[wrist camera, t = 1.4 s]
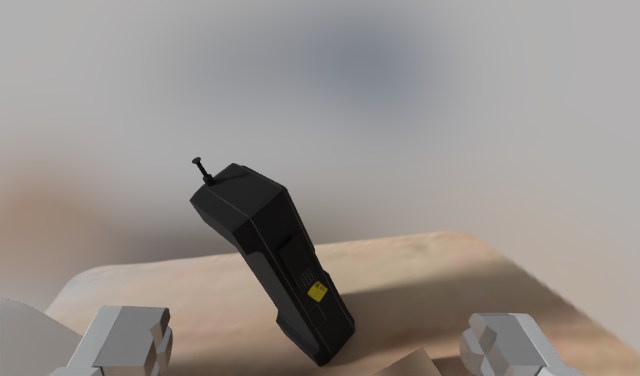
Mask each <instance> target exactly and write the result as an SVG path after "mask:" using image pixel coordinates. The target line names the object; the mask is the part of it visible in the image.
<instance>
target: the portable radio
mask: <svg viewBox="0 0 640 376" xmlns="http://www.w3.org/2000/svg"><path fill="white" fill-rule="evenodd" d="M200 160H201V158H200V157H197V158H195V159H193V161H192V163H194V164H197V166H198V168H199V169H200V171H201V172H202V174H203V175H204V177H203V180H204V182H205V184H204V185H203V186H202V187H201V188H200V189H199V190H198V191H197V192H196V193H195V194H194V195H193V197H192V198H191V199H190V202H191V203H192V205H193V206H194V208H195V209H196V211H197V212H198V213H199V215H200V216H201V218H202V219H203V220H204V221H205V222H206V223H207V224H208V225H209V226H211V227H212V228H213V229H214V230H216V231H217V232H218V233H219V234H220V235H222V236H223V237H224V238H226V239H227V240H228V241H229V242H230V243H232V244H233V245H235V247H236V248H237V249H238V251H239V252H240V254H241V255H242V257H243V258H244V260H245V261H246V263H247V264H248V266H249V267H250V268H251V270H252V271H253V273H254V274H255V276H256V277H257V279H258V280H259V282H260V283H261V285H262V286H263V288H264V289H265V291H266V292H267V294H268V295H269V297H270V298H271V300H272V301H273V303H274V304H275V306H276V307H277V309H278V316H277V319H276V322H277V324H278V325H279V327H280V328H281V329H282V331H283V332H284V333H285V334H286V336H287V337H289V338H290V339H291V340H292V341H293V342H294V343H295V344H296V345H297V346H298V347H299V348H300V349H301V350H302V351H303V352H304V353H305V354H307V355H308V356H309V357H310V358H311V359H312V360H313V361H314V362H315V363H316V364H317V365H318V366H319V367H321V366H322V365H324V364H326V363H328V362H329V361H330V360H331V359H332V358H333V357H334V356H335V355H336V353H337V352H338V351H339V350H340V348H341V347H342V346H343V345H344V343H345V342H346V341H347V340H348V339H349V337H350V336H351V335H352V334H353V332H354V331H355V328H354V323H355V322H354V319H353V318H352V316H351V314H350V313H349V311H348V310H347V308H346V306H345V304H344V302H343V301H342V299H341V297H340V295H339V293H338V291H337V289H336V287H335V285H334V283H333V281H332V279H331V277H330V275H329V273H327V272H326V271H324V270H323V269H322V266H321V264H320V262H319V260H318V258H317V256H316V254H315V248H314V246H313V244H312V242H311V240H310V238H309V235H308V233H307V231H306V229H305V227H304V225H303V223H302V221H301V218H300V216H299V214H298V212H297V210H296V208H295V206H294V203H293V201H292V199H291V197H290V195H289V193H288V190H287V189H286V188H285V187H284V186H283V185H281V184H279V183H277V182H275V181H273V180H271V179H269V178H267V177H265V176H263V175H261V174H259V173H257V172H256V171H254V170H252V169H250V168H248V167H246V166H240V165H238V164H235V163H232V164H231V165H229V166H228V167H226V168H225V169H224V170H222V171H221V172H220V173H219V174H217V175H216V176H215V177H212V176H211V174H207V172H206V171H205V169H204V168H203V166H202V165H201V163H200Z"/></svg>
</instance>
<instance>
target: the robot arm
mask: <svg viewBox="0 0 640 376" xmlns="http://www.w3.org/2000/svg"><path fill="white" fill-rule="evenodd" d="M169 320H170V313H169V308H158V307H135V306H103V307H102V308H100V309H99V310H98V311H97V313H96V315H95V317H94V318H93V320H92V322H91V324H90V326H89V327H88V329H87V331H86V333H85V335H84V336H83V338H82V340H81V342H80V344H79V345H78V347H77V349H76V351H75V353H74V354H73V356H72V358H71V360H70V362H69V363H68V365H67V367H60V368H58V369H57V370H55V371H54V372H53V373H51V374H50V375H49V376H160V374H161V373H162V372H163V371H164V370H165V369H167V367H168V363H169V360H170V356H171V350H172V342H173V335H172V329H171V328H170V327H169V326H168V323H169ZM468 322H469V324H470V326H471V327H470V328H469V329H467V330H466V331H464V332H463V334H462V336H461V339H460V354H461V358H462V361H463V363H464V365H465V367H466V368H467V369H468V370H469V371H470V372H471V373H472V374H473V375H474V376H584V375H583V374H582V373H580V372H579V371H577V370H576V369H575V368H573V367H567V366H566V364H565V363H564V362H563V360H562V359H561V357H560V356H559V355H558V353H557V352H556V350H555V349H554V347H553V346H552V345H551V343H550V342H549V340H548V339H547V338H546V336H545V335H544V333H543V332H542V331H541V329H540V328H539V326H538V325H537V323H536V322H535V321H534V319H533V318H532V317H531V316H530V315H528V314H523V313H474V314H473V315H471V317H470V319H469V321H468Z"/></svg>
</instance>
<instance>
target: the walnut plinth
mask: <svg viewBox="0 0 640 376" xmlns="http://www.w3.org/2000/svg"><path fill="white" fill-rule="evenodd" d="M372 376H442V375H441V374H440V372H439V371H438V369H437V368H436V367H435V365H434V364H433V362H432V361H431V359H430V358H429V356H428V355H427V353H426V352H425V350H424V349H423V347H421V348H419V349H418V350H416V351H414V352H413V353H411V354H409V355H407V356H406V357H404V358H402V359H400V360H399V361H397V362H395V363H393V364H392V365H390V366H388V367H386V368H385V369H383V370H381V371H379V372H378V373H376V374H374V375H372Z"/></svg>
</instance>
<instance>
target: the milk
mask: <svg viewBox="0 0 640 376" xmlns="http://www.w3.org/2000/svg"><path fill="white" fill-rule="evenodd" d="M82 338H83V336H82V335H80V334H78V333H76V332H75V331H73V330H71V329H69V328H68V327H66V326H64V325H63V324H61V323H59V322H57V321H56V320H54V319H52V318H50V317H49V316H47V315H45V314H44V313H42V312H40V311H38V310H37V309H35V308H33V307H31V306H29V305H26V304H23V303H20V302H17V301H13V300H10V299H5V298H0V376H49V375H50V374H51V373H53V372H54V371H55V370H57V369H58V368H60V367H67V365H68V363H69V362H70V360H71V358H72V356H73V354H74V353H75V351H76V349H77V347H78V345H79V344H80V342H81V340H82Z"/></svg>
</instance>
